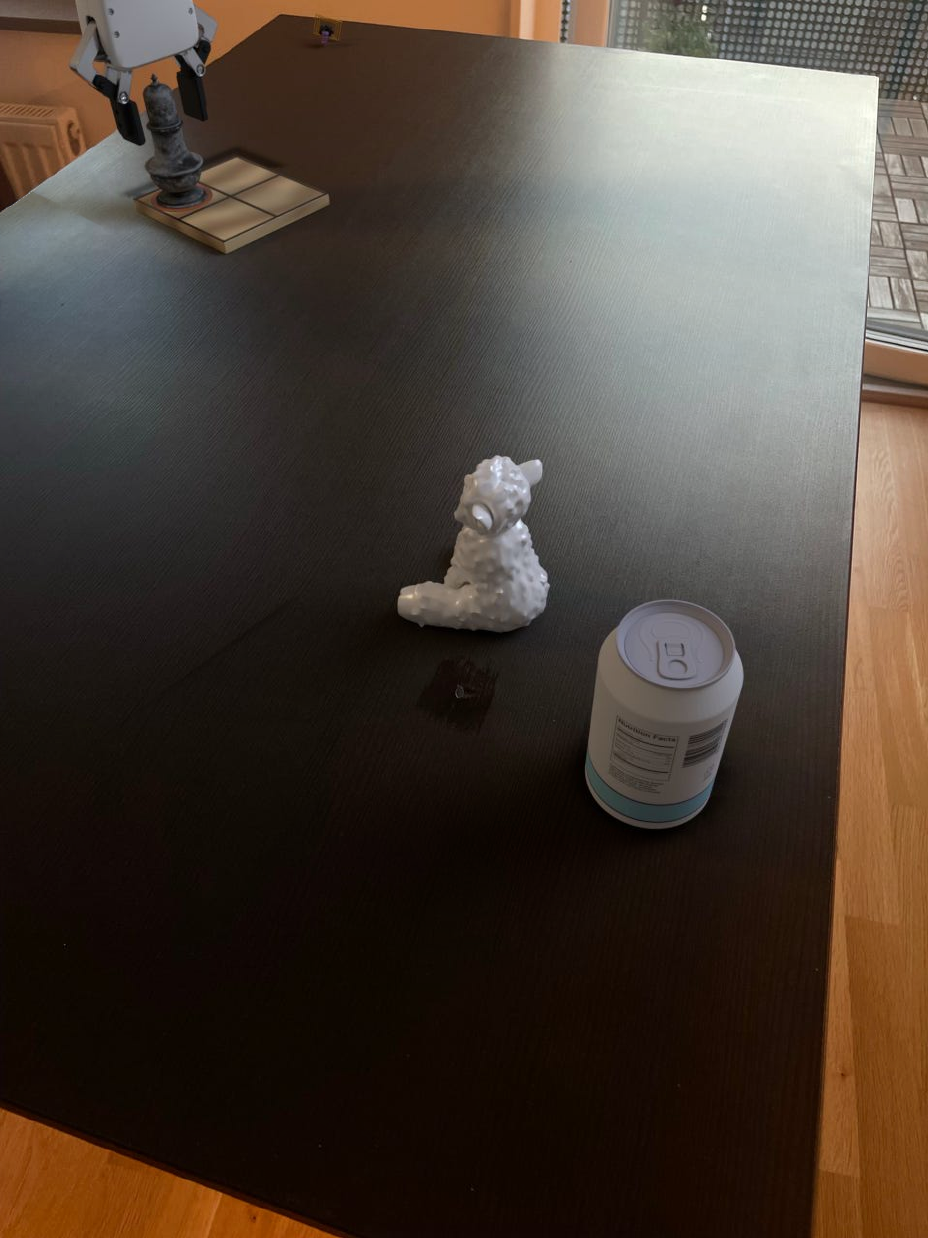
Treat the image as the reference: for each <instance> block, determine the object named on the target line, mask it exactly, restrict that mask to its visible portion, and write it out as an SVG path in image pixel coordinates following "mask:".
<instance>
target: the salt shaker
mask: <svg viewBox="0 0 928 1238" xmlns="http://www.w3.org/2000/svg"><path fill="white" fill-rule="evenodd" d="M149 79H150V80H151V81H152V82H150V83H149V84H147V85H146V86H145V87H144V88H143V91H142V99H143V102H144V103H143V104H144V107H145V111H146V115H147V119H148V122H147V123H146V124H145V127H146V129H147V131H150V135H151V139H152V143H153V149H154V152H153V153H154V155H153V156H151V157H150V158H149V159H147V160H146V162H145V163H144V170H145V171H146V172H147V174H149V177H150V179H151V180H152V182H153V183H154V185H155V186H156V188H157V187H158V188H160V189H162V191H161V192H160V193H159V194H158V195H157V197H156V202H157V204H158V205H159V206H161V207H164V208H168V209H183V208H189V207H192V206H195V205H198V204H200V203H201V202H203V201H204V200H205V199H206V198H207V193H206V191H205V190H204V189H203V188H201V187H199V186H196V185H197V183H198V182H199V180H200V177H201V171H202V170H203V169H202V166H203V163H204V160H203V157H202V156H201V155H200V154H199V153H196V152H193V151H189V149H188V147H187V146H186V143H185V139H184V134H183V128H182V127H183V125H184V121H183V119H182V118H179V115H178V111H177V106H176V100H175V97H174V92H173V90H172V88H171V87H170V86H169V85H168V84H166V83H163V82H160V81H158V79H159V78H158V76H157V75H156V74H155V73H152V75H151V77H150V78H149Z"/></svg>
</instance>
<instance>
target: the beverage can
mask: <svg viewBox="0 0 928 1238" xmlns="http://www.w3.org/2000/svg"><path fill="white" fill-rule="evenodd" d="M735 642H736V641H735V638H734V636H733V633H732V631H731V630H730V628H729V627H728V626H727V625H726V623H725V622H724V621H723V620H722V619H721V618H720V617H719V616H718V615H716V613H713V612H712V611H711V610H709V609H707V608H705V607H703V606H701V605H699V604H696V603H694V602H690V601H685V600H679V599H658V600H653V601H648V602H645V603H642V604H640V605H638V606H636V607H634V608H633V609H631V610H630V611H629V612H628V613H626V615H624V616H623V618H622V619H621V620H620V623H619V624H618V626H616V627H615V628H613V630H612V631H611V632H610V633H609V634H608V635H607V637H606V638H605V639H604V641H603V642H602V645H601V647H600V650H599V653H598V660H597V668H596V675H595V684H594V693H593V701H592V709H591V716H590V726H589V735H588V741H587V749H586V756H585V757H586V758H585V765H584V774H585V781H586V785H587V787H588V790H589V792H590V794H591V795H592V797H593V798H594V800H595V801H596V802H597V804H598V805H599V806H600V807H601V808H602V809H603V810H604V811H605V812H606V813H608V814H609V815H611V816H612V817H614V818H615V819H617V820H619V821H620V822H623V823H625V824H627V825H630V826H633V827H636V828H641V829H649V830H663V829H668V828H673V827H677V826H680V825H682V824H684V823H687V822H688V821H690V820H692V819H693V818H695V817H696V816H697V815H698V814H699V813H700V812H702V810H703V809H704V807H705V806H706V805H707V803H708V800H709V798H710V797H711V793H712V790H713V787H714V783H715V780H716V776H717V773H718V769H719V766H720V762H721V759H722V757H723V753H724V749H725V745H726V742H727V739H728V735H729V733H730V728H731V726H732V722H733V719H734V715H735V712H736V708H737V705H738V702H739V698H740V695H741V691H742V688H743V685H744V668H743V667H744V666H743V664H742V660H741V657H740V655H739V653H738V651H737V649H736V643H735Z"/></svg>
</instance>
